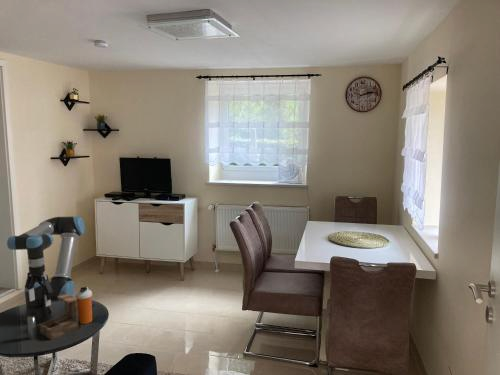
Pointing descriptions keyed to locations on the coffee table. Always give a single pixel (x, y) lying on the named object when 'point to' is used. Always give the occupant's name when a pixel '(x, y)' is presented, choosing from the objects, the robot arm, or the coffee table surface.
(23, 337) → the coffee table surface
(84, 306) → the shaker bottle
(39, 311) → the robot arm
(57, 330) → the socket block
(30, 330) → the peg
